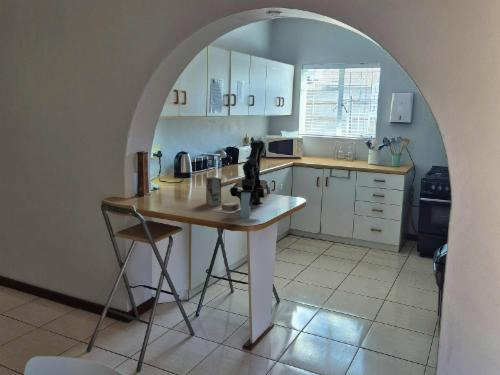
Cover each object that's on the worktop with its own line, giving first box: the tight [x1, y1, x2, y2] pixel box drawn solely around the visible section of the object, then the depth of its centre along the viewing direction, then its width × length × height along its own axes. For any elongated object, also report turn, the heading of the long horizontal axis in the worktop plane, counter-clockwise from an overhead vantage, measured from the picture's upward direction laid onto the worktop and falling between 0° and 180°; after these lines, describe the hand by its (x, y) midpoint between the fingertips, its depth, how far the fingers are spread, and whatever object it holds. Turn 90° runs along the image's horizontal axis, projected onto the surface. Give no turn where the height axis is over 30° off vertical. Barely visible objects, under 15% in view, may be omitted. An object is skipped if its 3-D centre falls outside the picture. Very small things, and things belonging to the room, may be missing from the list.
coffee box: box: [205, 176, 222, 207], centre depth 273 cm, size 9×6×16 cm
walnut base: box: [213, 202, 241, 215], centre depth 260 cm, size 16×12×4 cm
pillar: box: [240, 192, 252, 219], centre depth 245 cm, size 4×4×13 cm
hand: (245, 205), depth 243 cm, fingers closed on pillar, 4 cm apart
